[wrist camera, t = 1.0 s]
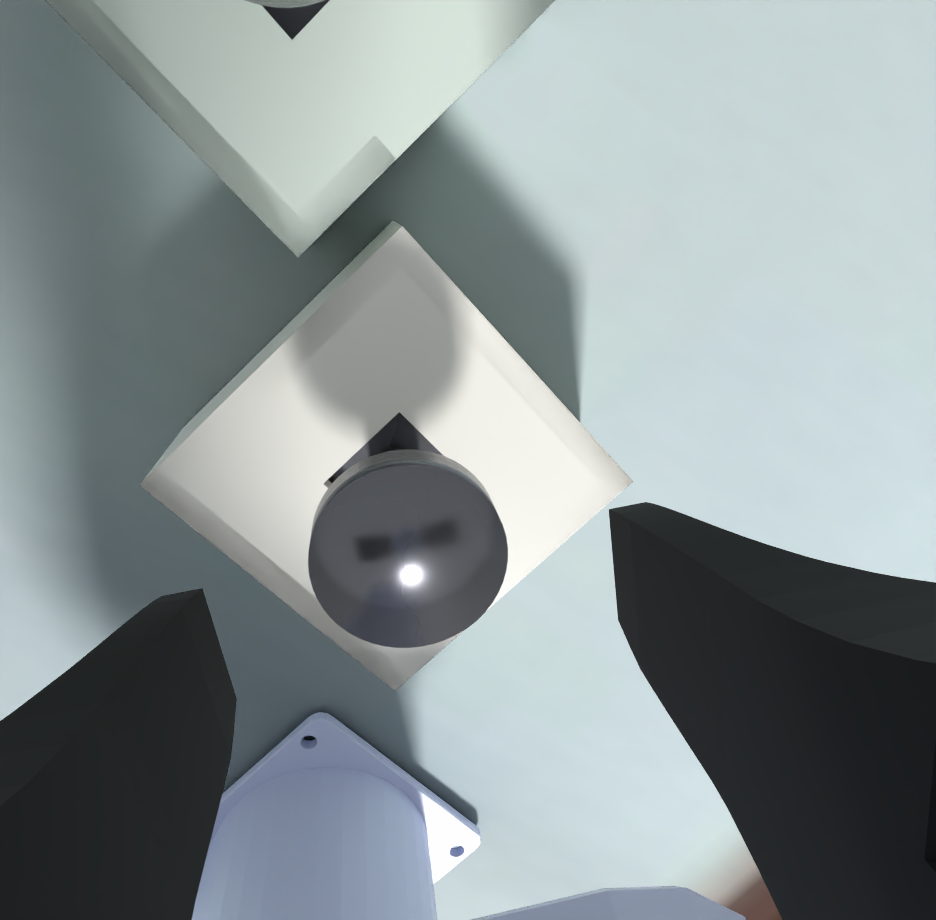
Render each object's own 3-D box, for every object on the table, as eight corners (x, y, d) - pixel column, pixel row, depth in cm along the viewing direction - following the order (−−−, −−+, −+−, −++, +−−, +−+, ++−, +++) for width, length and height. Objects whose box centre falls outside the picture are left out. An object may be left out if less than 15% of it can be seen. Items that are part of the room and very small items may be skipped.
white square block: (387, 602, 23) (394, 691, 19) (183, 426, 21) (139, 485, 16) (580, 428, 22) (633, 481, 18) (392, 220, 20) (401, 226, 15)
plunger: (393, 599, 20) (406, 731, 15) (240, 466, 18) (197, 566, 13) (541, 465, 19) (606, 557, 14) (397, 314, 17) (414, 359, 12)
